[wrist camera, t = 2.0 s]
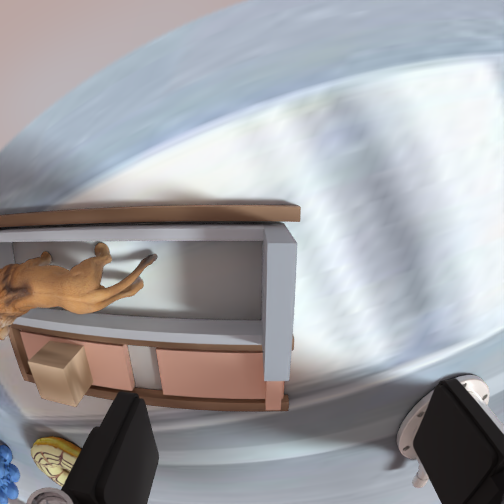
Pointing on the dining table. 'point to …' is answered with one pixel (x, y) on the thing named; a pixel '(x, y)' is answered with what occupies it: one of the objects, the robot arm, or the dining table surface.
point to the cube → (61, 372)
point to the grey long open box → (174, 329)
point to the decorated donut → (55, 457)
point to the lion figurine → (62, 286)
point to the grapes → (7, 476)
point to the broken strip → (176, 370)
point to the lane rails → (149, 395)
